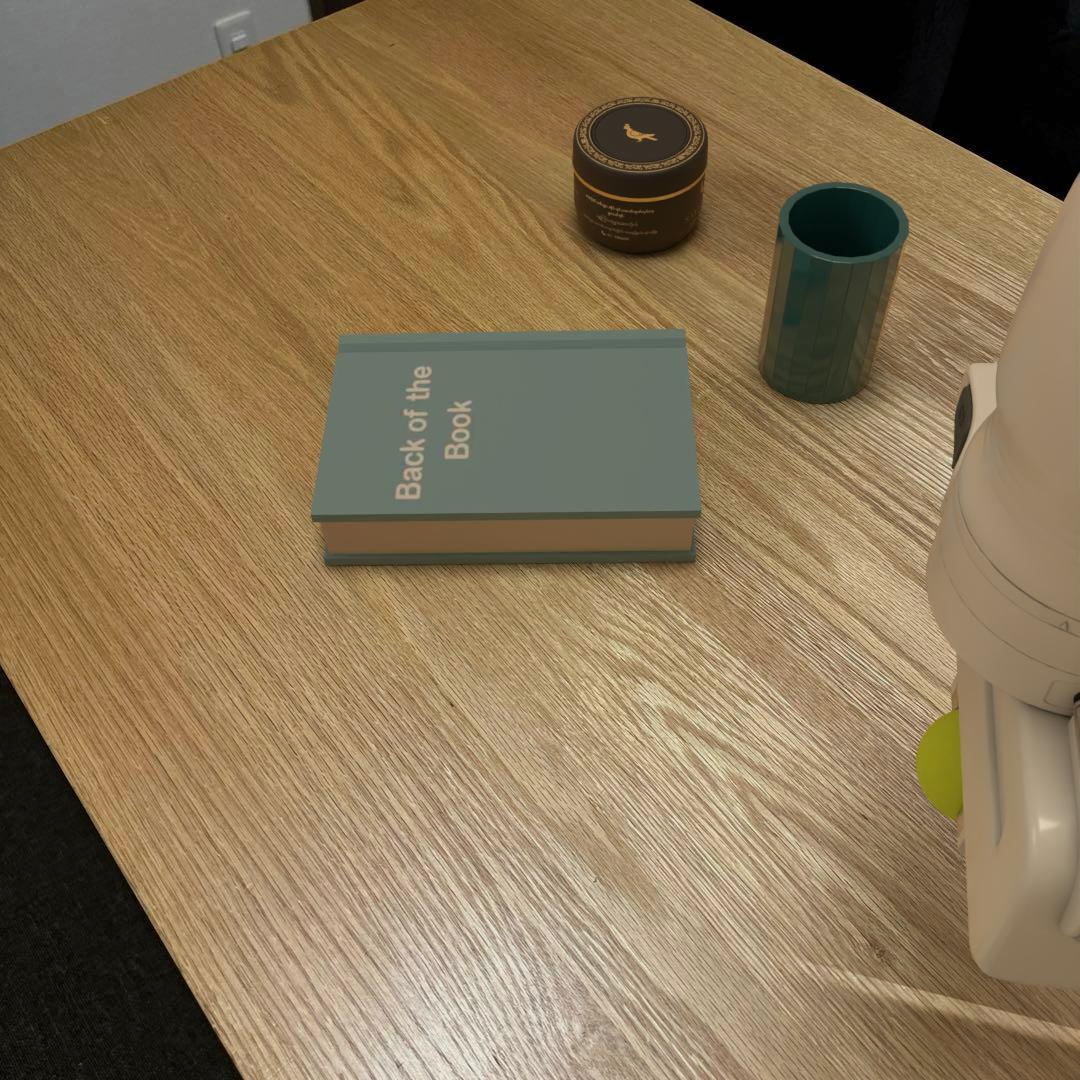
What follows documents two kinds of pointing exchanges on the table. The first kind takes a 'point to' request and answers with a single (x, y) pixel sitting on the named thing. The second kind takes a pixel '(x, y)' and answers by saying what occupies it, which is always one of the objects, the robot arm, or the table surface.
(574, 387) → the book
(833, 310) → the tube
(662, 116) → the jar
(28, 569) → the table surface
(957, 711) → the ball
